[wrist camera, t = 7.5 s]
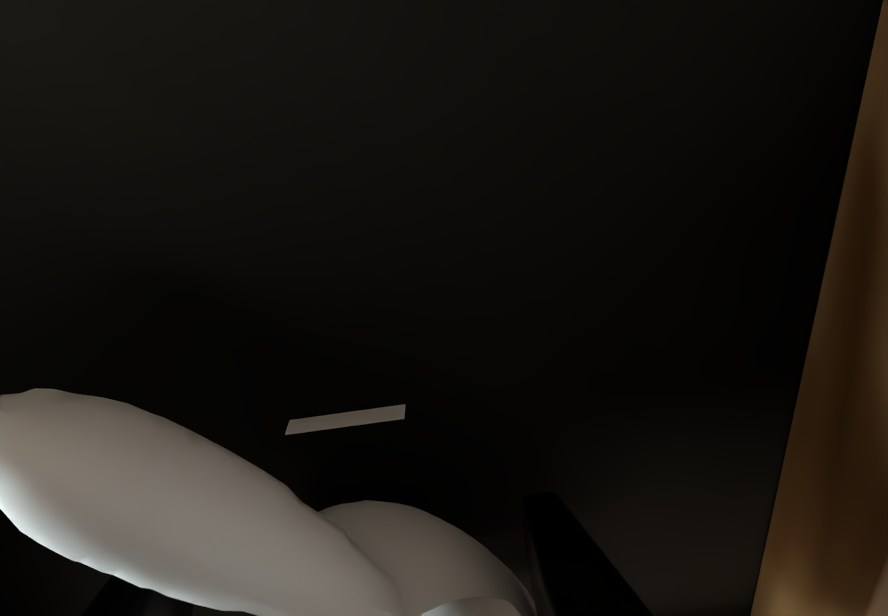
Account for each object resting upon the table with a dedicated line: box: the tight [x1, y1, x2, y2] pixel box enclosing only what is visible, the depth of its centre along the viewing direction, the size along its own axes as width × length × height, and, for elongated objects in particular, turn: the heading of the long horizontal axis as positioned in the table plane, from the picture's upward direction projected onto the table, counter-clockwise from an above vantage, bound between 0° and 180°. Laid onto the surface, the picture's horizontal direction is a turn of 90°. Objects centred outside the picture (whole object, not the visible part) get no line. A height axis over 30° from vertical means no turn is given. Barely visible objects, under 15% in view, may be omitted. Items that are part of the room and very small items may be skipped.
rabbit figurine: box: [0, 388, 537, 616], centre depth 9 cm, size 6×4×8 cm
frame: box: [0, 0, 888, 616], centre depth 10 cm, size 14×13×2 cm
